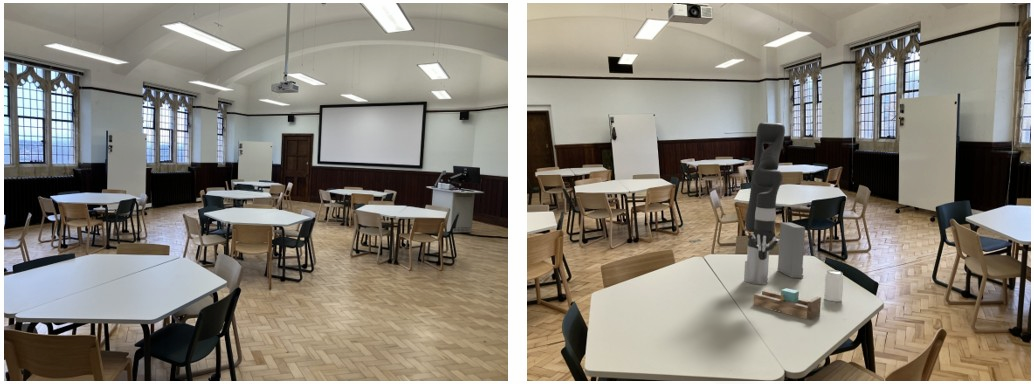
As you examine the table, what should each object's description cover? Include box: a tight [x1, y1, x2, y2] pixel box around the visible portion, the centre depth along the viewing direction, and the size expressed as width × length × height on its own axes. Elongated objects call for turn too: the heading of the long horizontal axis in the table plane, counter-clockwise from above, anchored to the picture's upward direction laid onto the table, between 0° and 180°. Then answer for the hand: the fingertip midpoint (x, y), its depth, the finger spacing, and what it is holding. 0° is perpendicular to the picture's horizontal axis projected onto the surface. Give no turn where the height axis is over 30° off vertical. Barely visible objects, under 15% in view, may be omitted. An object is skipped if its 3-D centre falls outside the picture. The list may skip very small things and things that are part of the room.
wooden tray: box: [752, 289, 822, 321], centre depth 208 cm, size 22×9×7 cm, turn 39°
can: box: [823, 269, 845, 303], centre depth 219 cm, size 6×6×12 cm
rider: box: [780, 287, 800, 304], centre depth 206 cm, size 5×4×5 cm
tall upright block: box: [776, 221, 806, 279], centre depth 257 cm, size 14×6×25 cm, turn 179°
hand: (762, 259), depth 214 cm, fingers closed
